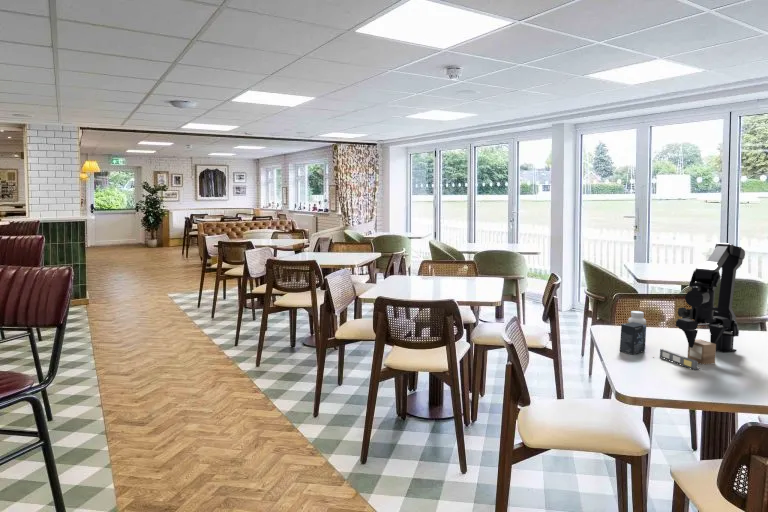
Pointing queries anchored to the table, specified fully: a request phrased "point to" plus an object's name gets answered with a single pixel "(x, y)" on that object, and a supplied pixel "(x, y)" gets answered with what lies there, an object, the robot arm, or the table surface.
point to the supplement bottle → (637, 317)
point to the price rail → (679, 359)
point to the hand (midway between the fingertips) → (701, 346)
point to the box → (633, 338)
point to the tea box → (702, 352)
